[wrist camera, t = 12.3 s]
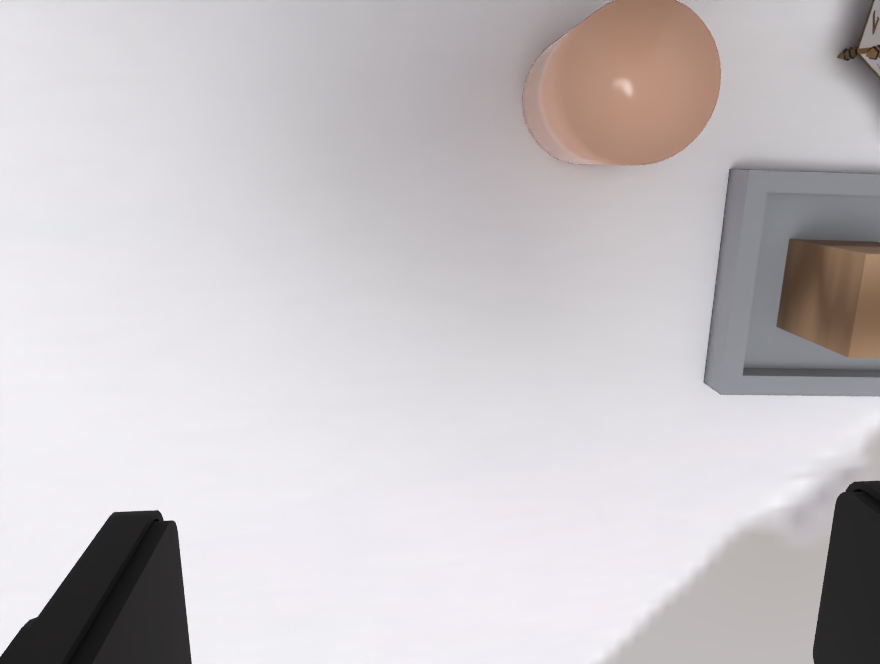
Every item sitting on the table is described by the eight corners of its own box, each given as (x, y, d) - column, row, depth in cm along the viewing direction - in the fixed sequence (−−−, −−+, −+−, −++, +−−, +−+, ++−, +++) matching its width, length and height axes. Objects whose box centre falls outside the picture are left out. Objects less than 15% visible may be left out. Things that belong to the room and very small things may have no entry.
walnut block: (788, 238, 36) (866, 253, 30) (875, 241, 36) (968, 256, 30) (776, 326, 37) (848, 357, 31) (859, 328, 37) (946, 359, 31)
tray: (729, 169, 35) (749, 169, 33) (941, 176, 36) (972, 177, 34) (703, 382, 38) (720, 394, 36) (901, 385, 39) (928, 397, 37)
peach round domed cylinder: (526, 29, 33) (567, -11, 26) (652, 35, 34) (730, -3, 26) (519, 162, 35) (555, 162, 27) (640, 166, 35) (710, 167, 27)
